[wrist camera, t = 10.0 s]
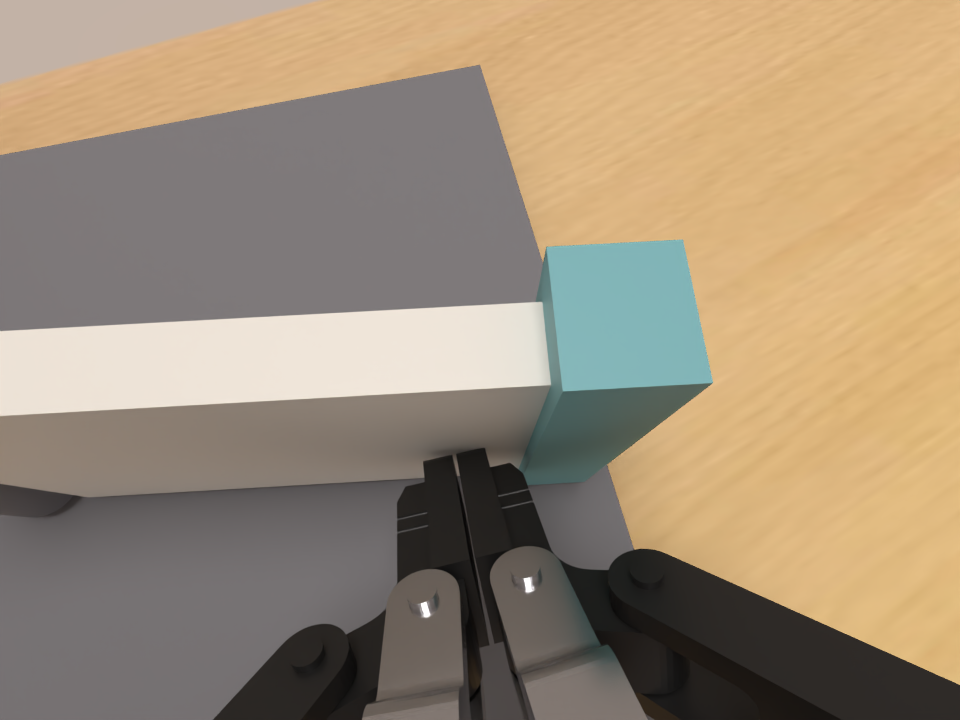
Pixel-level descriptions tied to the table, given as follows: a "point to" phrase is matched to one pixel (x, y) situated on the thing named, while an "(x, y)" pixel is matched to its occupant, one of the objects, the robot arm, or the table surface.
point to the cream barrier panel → (356, 388)
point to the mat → (245, 294)
